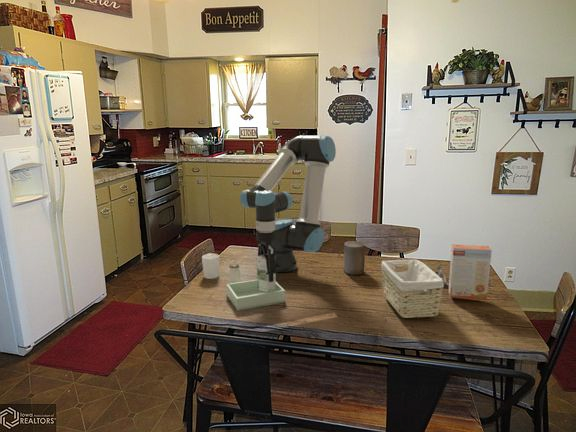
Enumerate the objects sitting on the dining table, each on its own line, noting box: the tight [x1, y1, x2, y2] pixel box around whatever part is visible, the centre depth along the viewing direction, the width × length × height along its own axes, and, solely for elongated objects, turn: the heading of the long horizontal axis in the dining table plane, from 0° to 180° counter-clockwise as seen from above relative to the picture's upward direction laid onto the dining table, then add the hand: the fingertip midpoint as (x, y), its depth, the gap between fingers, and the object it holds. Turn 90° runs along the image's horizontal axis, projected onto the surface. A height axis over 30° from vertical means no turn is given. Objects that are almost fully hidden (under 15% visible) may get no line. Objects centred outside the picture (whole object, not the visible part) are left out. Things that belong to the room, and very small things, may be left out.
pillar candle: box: [343, 240, 366, 275], centre depth 194 cm, size 10×10×15 cm
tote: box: [226, 279, 286, 312], centre depth 165 cm, size 20×16×5 cm
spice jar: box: [228, 262, 242, 284], centre depth 178 cm, size 5×5×10 cm
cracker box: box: [448, 243, 493, 301], centre depth 165 cm, size 14×6×21 cm, turn 76°
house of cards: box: [434, 265, 449, 286], centre depth 182 cm, size 9×9×8 cm
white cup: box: [201, 253, 220, 280], centre depth 189 cm, size 8×8×10 cm
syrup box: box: [256, 254, 277, 293], centre depth 165 cm, size 6×6×14 cm
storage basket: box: [380, 259, 445, 319], centre depth 157 cm, size 24×16×15 cm
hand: (266, 284), depth 166 cm, fingers closed on syrup box, 8 cm apart
